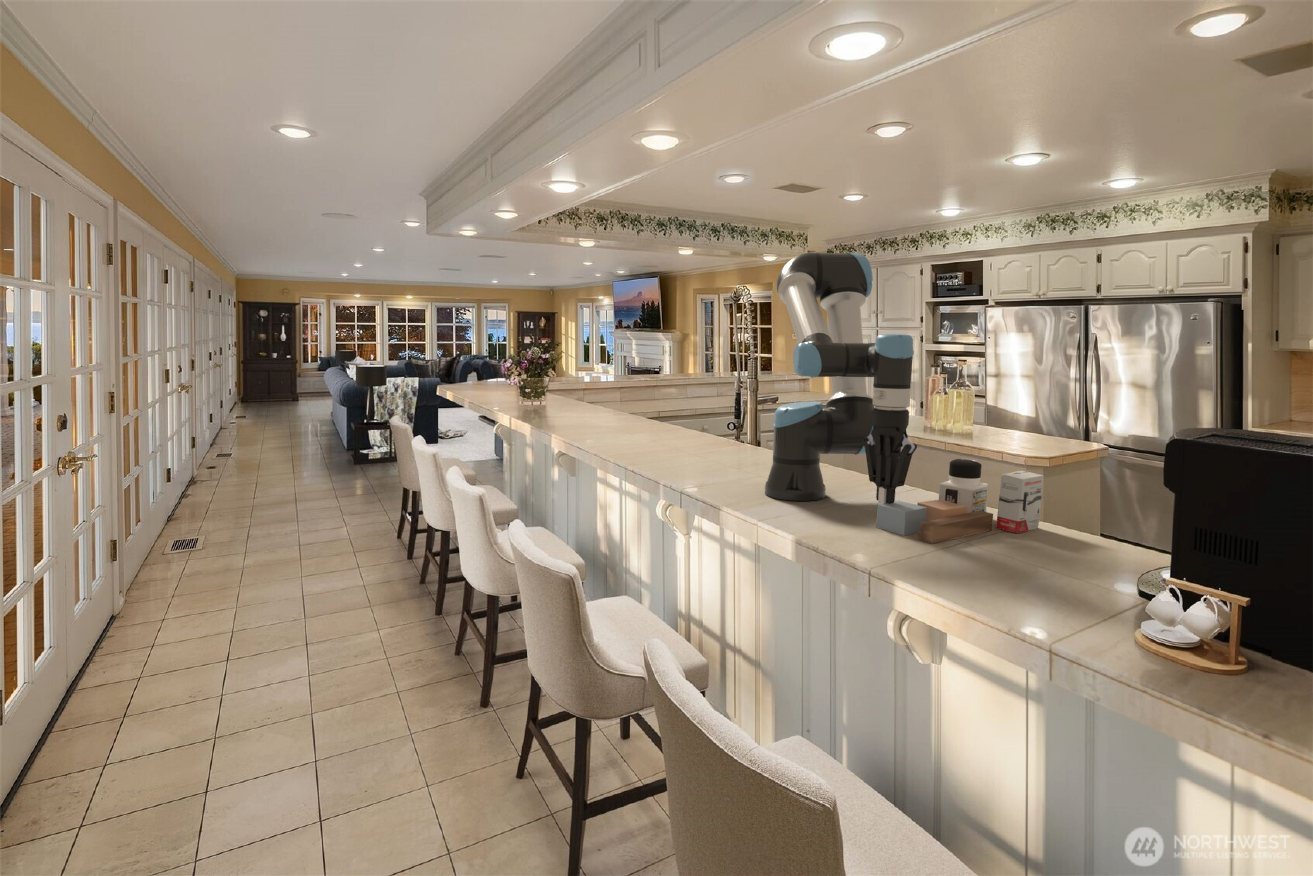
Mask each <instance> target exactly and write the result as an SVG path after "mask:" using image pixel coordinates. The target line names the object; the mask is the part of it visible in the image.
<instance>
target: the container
mask: <svg viewBox="0 0 1313 876" xmlns="http://www.w3.org/2000/svg"><path fill="white" fill-rule="evenodd" d="M948 468H949V469H948V479H949V480H947V481H943V482H940V483H939V488H938V500H945V501H949V502H952V503H956V504H959V505H963V506H967V513H971V512H976V511H984V512H987V508H988V507H987V504H988V496H989V495H988V494H989V484H988V483H986V482H985V483H984V482H981V479H982V478H981V476H982V464H981V462H979V461H978V460H974V459H970V458H956V459H952V460H951V461H949V467H948Z"/></svg>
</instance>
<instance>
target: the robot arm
mask: <svg viewBox="0 0 1313 876" xmlns="http://www.w3.org/2000/svg"><path fill="white" fill-rule="evenodd" d="M872 282H873V269H872V266H871V263H870V260H869V259H868V258H867V257H866V255H864V254H862V253H855V252H854V253H852V252H850V251H849V252H843V253H842V252H803V253H801V254H798V255H796V256H794V257H792V258H791V259H790V260H788V261H787V262H786V263H785V264H784V265H783V267H782V268H781V270H780V271H779V274H778V276H777V280H776V291H777V294H778V297H779V299H780V301H781V302H782V303H783V304H785V306H786V307H785V308H786V310H787V312H788V316H789V320H790V322H791V325H792V329H793V332H794V334H795V338H796V342H797V344H796V345H795V346H794V349H793V352H792V353H793V354H792V364H793V372H794V373H795V374H796V375H797V376H799V377H810V378H826V377H827V378H830V386H831V388H830V389H831V396H830V398H829V399H828V400H827V401H826V404H825V405H826V407H824V405H823V404H822V402H820V401H800V402H791V403H787V404H783V405H781V406H778V407H777V409H775V412H774V419H773V424H772V426H773V441H772V442H773V443H772V447H773V449H772V465H771V468H770V471H769V473H768V478H767V481H766V482H765V485H764V495H766V496H767V497H770V498H773V499H778V500H782V501H792V502H793V501H794V502H797V501H798V502H808V501H809V502H810V501H812V502H813V501H819V500H823V499H824V498H825V497H826V484H825V483H824V478H823V475H822V469H821V466H820V461H821V460H820V458H821V455H855V456H858V455H865V457H866V464H867V466H866V467H867V473H868V481H869V482H870V483H874V484H875V486H876V493H875V494H876V496H875V498H876V501H877V505H879V504H884V503H894V501H896V490H897V488H899V487H904V485H905V482H906V479H907V476H908V472H909V468H910V464H911V461H912V457H913V454H914V453H915V451H916V450H917V448H918V445H917V443H912V442H911V441H910V440H909V437H908V433H907V428H908V426H909V422H910V421H909V420H910V410H909V409H907V408H909V407H910V405H911V391H912V390H911V387H912V386H911V385H912V373H913V361H914V360H913V358H914V352H915V351H914V339H913V336H912V335H911V334H893V333H892V334H889V333H887V334H878V335H877V336H876V338H875V342H868V343H866V342H864V339H863V338H864V337H863V327H862V312H861V307H862V306H863V305H864V304H865V303H866V302H867V301H866V300H867V299H866V298H868V297H869V296H870V294H871V293H872V289H873V283H872ZM817 298H818V299H819V302H818V299H817ZM819 304H820V305H819ZM820 307H821V308H822V309H824V311H826V321H825V318H824V316H823V313H822V310H821V308H820ZM826 322H827V323H826ZM866 378H873V383H872V384H873V385H872V386H873V387H872V388H873V389H872V396H870V395H869V394H868V392H867V381H866V380H867V379H866Z"/></svg>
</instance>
